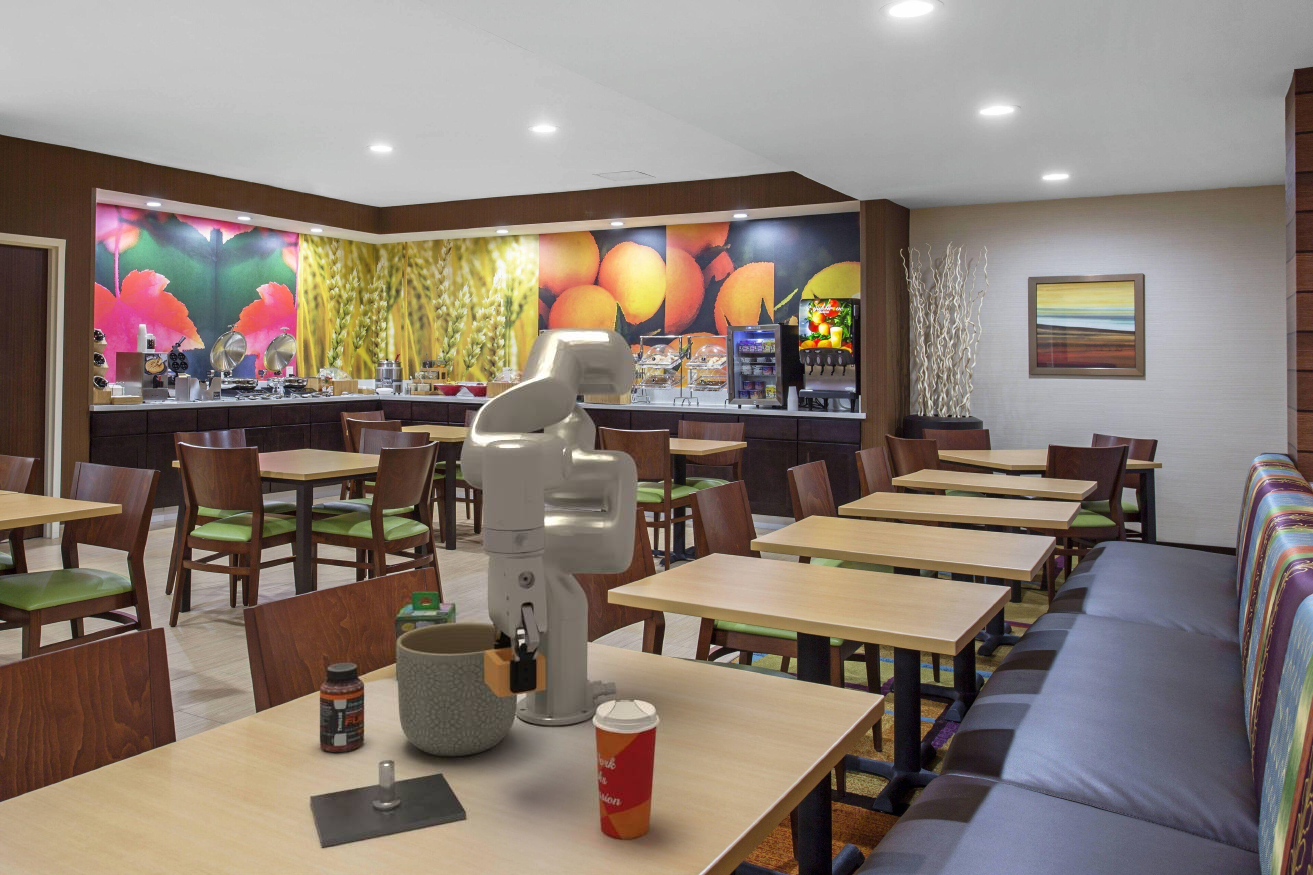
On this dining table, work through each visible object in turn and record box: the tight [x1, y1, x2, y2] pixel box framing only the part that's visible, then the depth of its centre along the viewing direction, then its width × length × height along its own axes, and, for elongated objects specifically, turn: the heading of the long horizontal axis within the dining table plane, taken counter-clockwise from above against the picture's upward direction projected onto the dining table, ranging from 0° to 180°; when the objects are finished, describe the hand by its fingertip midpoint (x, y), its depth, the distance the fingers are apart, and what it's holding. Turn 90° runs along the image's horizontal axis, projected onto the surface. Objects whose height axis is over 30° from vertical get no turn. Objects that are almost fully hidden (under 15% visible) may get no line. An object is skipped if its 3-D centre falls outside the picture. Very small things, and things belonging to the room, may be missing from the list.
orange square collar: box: [484, 645, 546, 698], centre depth 115 cm, size 6×6×4 cm
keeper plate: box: [309, 759, 467, 848], centre depth 110 cm, size 16×12×6 cm
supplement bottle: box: [319, 662, 365, 753], centre depth 129 cm, size 6×6×11 cm
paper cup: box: [592, 699, 660, 840], centre depth 106 cm, size 8×8×14 cm
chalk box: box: [394, 591, 457, 682], centre depth 162 cm, size 9×9×15 cm
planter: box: [395, 621, 520, 758], centre depth 131 cm, size 17×17×15 cm
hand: (514, 680), depth 115 cm, fingers closed on orange square collar, 6 cm apart
